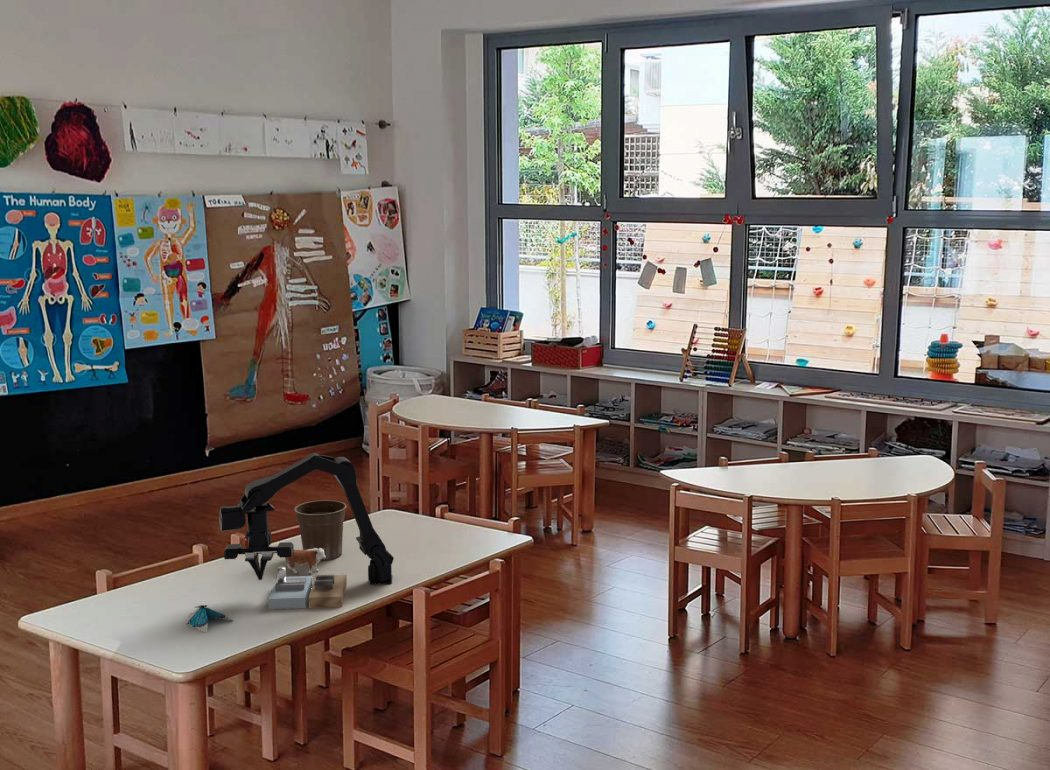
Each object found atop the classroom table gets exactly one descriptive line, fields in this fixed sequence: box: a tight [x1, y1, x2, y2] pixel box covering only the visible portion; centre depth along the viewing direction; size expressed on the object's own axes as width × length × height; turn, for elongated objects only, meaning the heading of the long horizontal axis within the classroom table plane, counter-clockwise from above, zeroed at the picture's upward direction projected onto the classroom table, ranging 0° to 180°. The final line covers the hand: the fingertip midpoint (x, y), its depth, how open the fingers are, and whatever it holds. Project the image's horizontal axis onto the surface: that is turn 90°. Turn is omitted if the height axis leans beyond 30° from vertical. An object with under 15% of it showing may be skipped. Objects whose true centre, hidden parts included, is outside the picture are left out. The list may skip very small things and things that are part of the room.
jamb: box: [308, 574, 348, 609], centre depth 310 cm, size 9×18×5 cm, turn 5°
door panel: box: [267, 575, 313, 610], centre depth 309 cm, size 10×18×5 cm, turn 5°
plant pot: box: [293, 499, 347, 562], centre depth 345 cm, size 16×16×16 cm
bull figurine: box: [284, 548, 326, 574], centre depth 330 cm, size 4×13×8 cm, turn 79°
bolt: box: [275, 566, 306, 587], centre depth 309 cm, size 8×2×6 cm, turn 95°
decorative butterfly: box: [186, 603, 234, 634], centre depth 291 cm, size 10×6×10 cm
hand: (260, 579), depth 308 cm, fingers closed
